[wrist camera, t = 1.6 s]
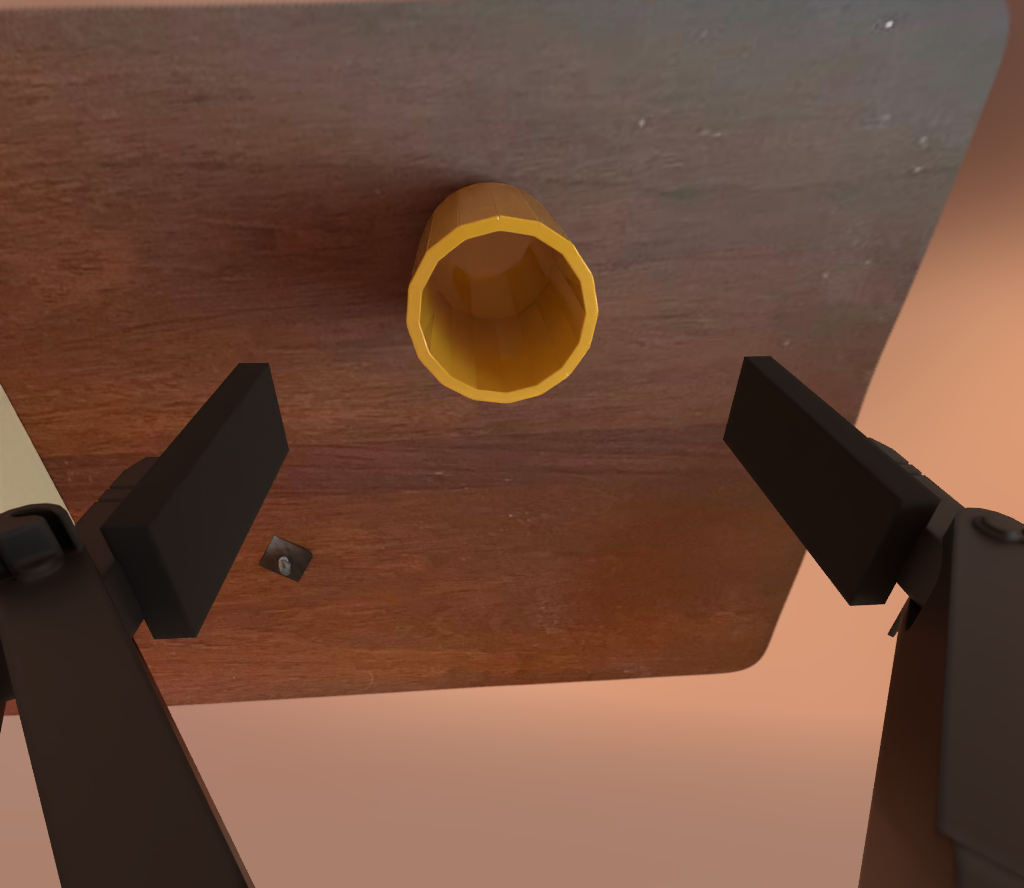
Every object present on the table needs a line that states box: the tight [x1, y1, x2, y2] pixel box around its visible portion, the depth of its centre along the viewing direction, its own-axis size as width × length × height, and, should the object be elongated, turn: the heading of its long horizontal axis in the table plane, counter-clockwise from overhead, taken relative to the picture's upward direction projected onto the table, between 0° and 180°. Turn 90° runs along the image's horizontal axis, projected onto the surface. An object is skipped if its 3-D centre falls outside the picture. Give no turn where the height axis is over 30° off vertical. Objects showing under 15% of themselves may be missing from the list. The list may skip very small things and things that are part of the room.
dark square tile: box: [259, 536, 312, 582], centre depth 37 cm, size 3×3×1 cm
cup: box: [406, 182, 599, 403], centre depth 24 cm, size 7×7×9 cm
